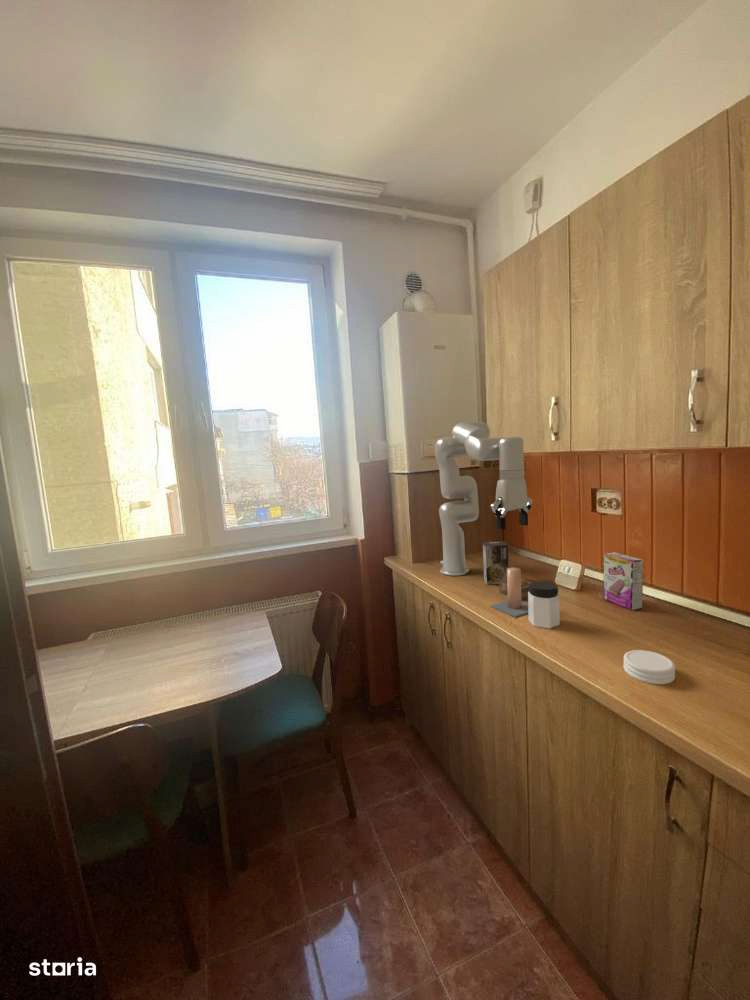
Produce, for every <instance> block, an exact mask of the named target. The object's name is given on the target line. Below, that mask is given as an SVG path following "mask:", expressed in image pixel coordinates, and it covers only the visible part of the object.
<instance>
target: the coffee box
mask: <svg viewBox="0 0 750 1000" xmlns="http://www.w3.org/2000/svg"><path fill="white" fill-rule="evenodd" d="M482 559H483V561H482V562H483V581H484V583H485V584H486V585H500V583H501V582H504V581H507V568H510V567H509V565H510V564H509V544H507V542H506V541H486V542H485V541H484V542H482Z"/></svg>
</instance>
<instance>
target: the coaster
mask: <svg viewBox="0 0 750 1000" xmlns="http://www.w3.org/2000/svg"><path fill="white" fill-rule="evenodd" d="M623 670H624V671H625V672H626V674H627V675H629V677H631V678H634V679H636V680H638V681H640V682H643V683H646V684H647V683H648V684H651V685H668V684H671V683H673V682H674V680H675V678H676V671H675V670H676V665H675V663H674V662H673V661H672V660H671V659H670V658H669V657H667V656H665V655H663V654H661V653H657V652H654V651H650V650H643V649H634V650H629V651H627V652H625V654H624V655H623Z"/></svg>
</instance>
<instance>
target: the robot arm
mask: <svg viewBox="0 0 750 1000" xmlns="http://www.w3.org/2000/svg"><path fill="white" fill-rule="evenodd" d="M490 433H491V432H490V427H489V425H488V424H487V423H486V422H484V421H462V422H459V423H456V425H455V426H454V427H453V428H452V430H451V435H452V436H446V437H441V438H439V439H438V440H437V441H436V442H435V446H434V456H435V459H436V462H437V464H438V465H437V466H438V469H439V482H440V493H441V496H442V498H444V499H447V500H452V499H464V500H456V501H449V502H444V503H443V504H441V505H440V506H439V509H438V515H439V520H440V524H441V525H440V526H441V535H442V537H441V538H442V556H443V557H442V560H440V563H439V564H441V565H442V567H441V568H440V573H441V574H442V575H445V576H453V577H455V576H456V577H457V576H464V575H467V574H469V572H470V569H469V567H467V566H466V553H465V551H466V550H465V547H466V545H465V533H464V530H463V528H462V527H461V526H460V525H459V524H460V523H467V522H468V523H469V522H474V521H476V520H478V518H479V514H480V509H479V508H480V507H479V494H478V493H479V492H478V484H477V481H476V479H475V478H474V477H472V476H470V475H463V476H462V475H460V467H459V464H458V463H457V461H456V460H455V458H453V457H470V458H472V459H474V460H476V461H480V462H481V461H482V462H486V461H499V462H498V463H499V465H498V466H499V480H497V482H496V489H495V501H494V502H492V503H491V504H490V508H491V510H492V514H494V516H495V517H496V522H497V523H496V525H497V529H499V530H502V531H503V530H504V531H505V530H506V528H507V525H506V523H507V522H506V516H505V515H506V514H507V512H511V511H512V512H513V511H517V510H518V511H519V513H518V524H519V525H520V526H528V525H529V520H528V519H529V513H530V510H531V509H532V504H533V501H534V500H533V499H532V498H531V497H529V496H528V491H527V483H526V479H525V473H526V472H525V466H524V464H525V463H524V462H525V461H524V460H525V459H524V454H525V452H524V450H525V449H524V439H523V438H522V437H520V436H512V437H511V436H510V437H507V436H506V437H490Z"/></svg>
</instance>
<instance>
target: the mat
mask: <svg viewBox="0 0 750 1000" xmlns="http://www.w3.org/2000/svg"><path fill="white" fill-rule="evenodd" d="M521 602H522V607H521V608H520V609H511V608H509V607H508V599H507V600H504V601H501V602H498V603H494V604H490V608H493V609H494V610H497V611H499V612H502V613H504V614H506V615H508V616H510V617H512V618H518V617H522V616H525V615H527V614H528V602H525V601H523V600H521Z"/></svg>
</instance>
